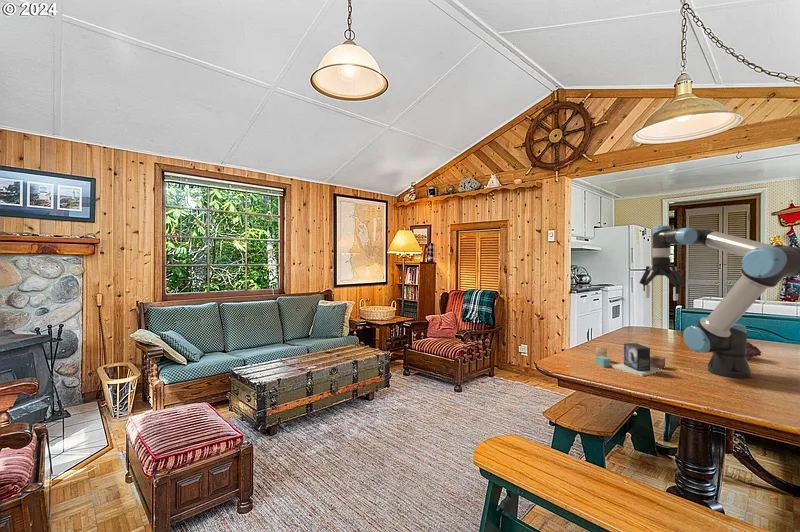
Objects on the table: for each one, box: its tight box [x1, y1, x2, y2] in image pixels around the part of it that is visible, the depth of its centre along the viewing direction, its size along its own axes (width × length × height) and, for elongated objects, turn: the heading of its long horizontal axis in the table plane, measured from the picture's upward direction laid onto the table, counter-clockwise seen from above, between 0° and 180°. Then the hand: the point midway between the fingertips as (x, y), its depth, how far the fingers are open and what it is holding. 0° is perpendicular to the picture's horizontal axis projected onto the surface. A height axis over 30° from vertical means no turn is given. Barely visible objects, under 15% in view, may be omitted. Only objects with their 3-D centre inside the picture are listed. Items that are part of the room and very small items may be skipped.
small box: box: [623, 342, 651, 371], centre depth 179 cm, size 11×6×10 cm, turn 2°
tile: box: [611, 362, 662, 377], centre depth 179 cm, size 14×14×1 cm
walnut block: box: [650, 355, 666, 370], centre depth 183 cm, size 5×5×5 cm
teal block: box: [595, 356, 611, 368], centre depth 187 cm, size 5×4×4 cm
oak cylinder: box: [595, 347, 608, 358], centre depth 196 cm, size 5×5×6 cm
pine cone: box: [746, 341, 762, 358], centre depth 197 cm, size 18×10×10 cm, turn 8°
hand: (661, 299), depth 192 cm, fingers open, 13 cm apart
